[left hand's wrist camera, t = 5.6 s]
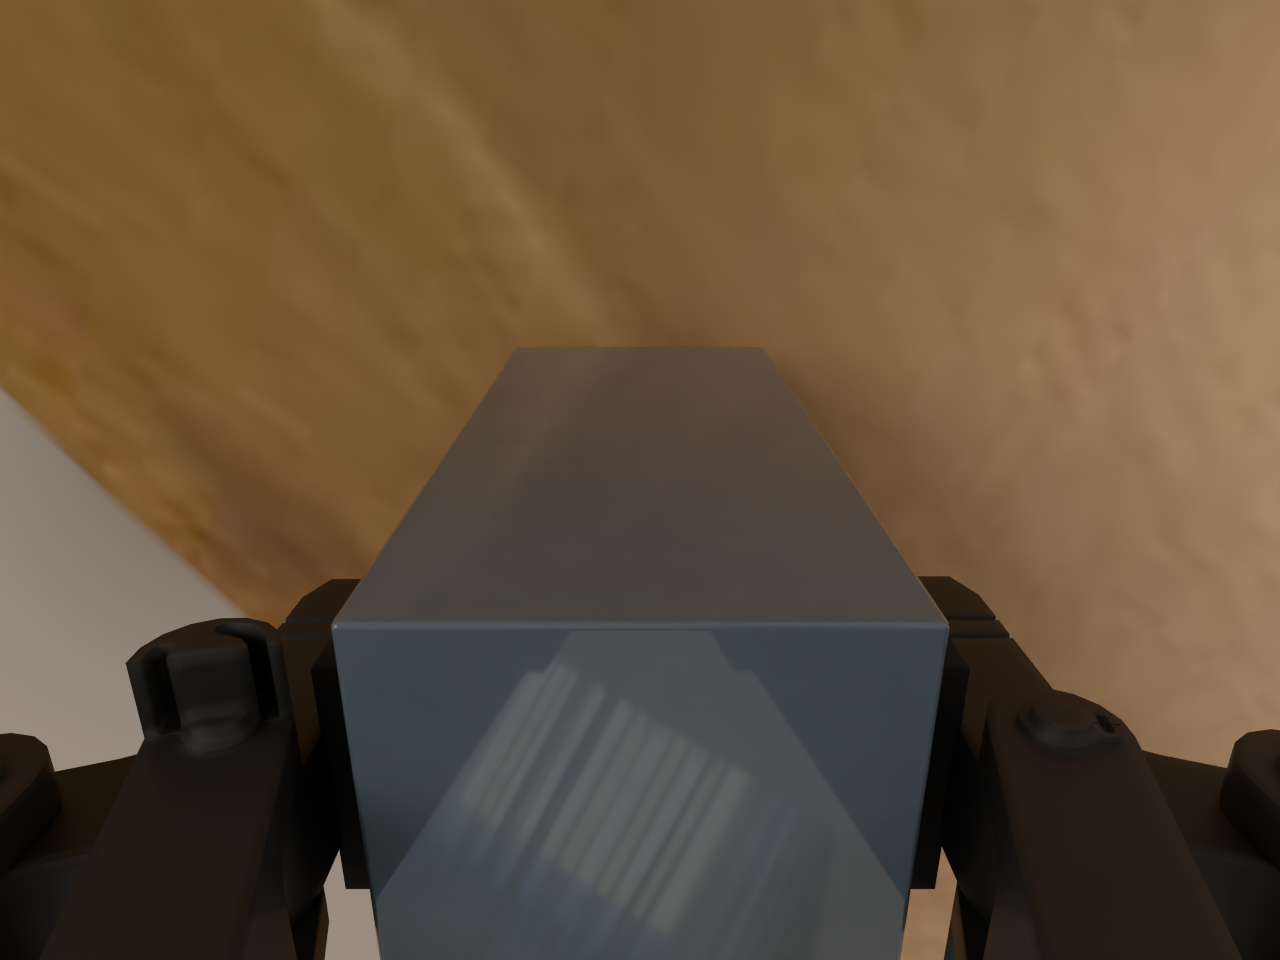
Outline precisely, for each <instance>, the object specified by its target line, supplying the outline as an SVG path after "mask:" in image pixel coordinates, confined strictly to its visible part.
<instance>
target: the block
mask: <svg viewBox="0 0 1280 960" xmlns="http://www.w3.org/2000/svg"><path fill="white" fill-rule="evenodd" d="M331 630H332V636H333V643H334V650H335V657H336V663H337V670H338V677H339V684H340V690H341V697H342V704H343V711H344V718H345V724H346V731H347V738H348V745H349V751H350V758H351V765H352V772H353V778H354V785H355V792H356V799H357V806H358V812H359V819H360V826H361V833H362V839H363V846H364V853H365V860H366V866H367V873H368V880H369V887H370V894H371V900H372V907H373V914H374V921H375V927H376V934H377V941H378V948H379V954H380V960H900V958H901V951H902V944H903V937H904V931H905V924H906V917H907V910H908V904H909V897H910V890H911V883H912V876H913V870H914V863H915V856H916V849H917V843H918V836H919V829H920V822H921V816H922V809H923V802H924V795H925V789H926V782H927V775H928V768H929V762H930V755H931V748H932V741H933V735H934V728H935V721H936V714H937V708H938V701H939V694H940V687H941V681H942V674H943V667H944V660H945V653H946V647H947V640H948V633H949V624H948V621H947V620H946V618H945V617H944V615H943V614H942V612H941V611H940V609H939V608H938V606H937V605H936V603H935V602H934V600H933V599H932V597H931V596H930V594H929V593H928V591H927V590H926V588H925V587H924V585H923V584H922V582H921V581H920V579H919V578H918V576H917V575H916V574H915V572H914V571H913V569H912V568H911V566H910V565H909V563H908V562H907V560H906V559H905V557H904V556H903V554H902V553H901V551H900V550H899V548H898V547H897V545H896V544H895V542H894V541H893V539H892V538H891V536H890V535H889V533H888V532H887V530H886V529H885V527H884V526H883V525H882V523H881V522H880V520H879V519H878V517H877V516H876V514H875V513H874V511H873V510H872V508H871V507H870V505H869V504H868V502H867V501H866V499H865V498H864V496H863V495H862V493H861V492H860V490H859V489H858V487H857V486H856V484H855V483H854V481H853V480H852V479H851V477H850V476H849V474H848V473H847V471H846V470H845V468H844V467H843V465H842V464H841V462H840V461H839V459H838V458H837V456H836V455H835V453H834V452H833V450H832V449H831V447H830V446H829V444H828V443H827V441H826V440H825V438H824V437H823V435H822V434H821V432H820V431H819V430H818V428H817V427H816V425H815V424H814V422H813V421H812V419H811V418H810V416H809V415H808V413H807V412H806V410H805V409H804V407H803V406H802V404H801V403H800V401H799V400H798V398H797V397H796V395H795V394H794V392H793V391H792V389H791V388H790V386H789V385H788V383H787V382H786V381H785V379H784V378H783V376H782V375H781V373H780V372H779V370H778V369H777V367H776V366H775V364H774V363H773V361H772V360H771V358H770V357H769V355H768V354H767V352H766V351H765V349H764V348H516V350H515V351H514V353H513V354H512V356H511V357H510V359H509V360H508V362H507V363H506V365H505V366H504V367H503V369H502V370H501V372H500V373H499V375H498V376H497V378H496V379H495V381H494V382H493V384H492V385H491V387H490V388H489V390H488V391H487V393H486V394H485V396H484V397H483V399H482V400H481V402H480V403H479V405H478V406H477V408H476V409H475V411H474V412H473V414H472V415H471V417H470V418H469V420H468V421H467V423H466V424H465V425H464V427H463V428H462V430H461V431H460V433H459V434H458V436H457V437H456V439H455V440H454V442H453V443H452V445H451V446H450V448H449V449H448V451H447V452H446V454H445V455H444V457H443V458H442V460H441V461H440V463H439V464H438V466H437V467H436V469H435V470H434V472H433V473H432V475H431V476H430V478H429V479H428V481H427V482H426V483H425V485H424V486H423V488H422V489H421V491H420V492H419V494H418V495H417V497H416V498H415V500H414V501H413V503H412V504H411V506H410V507H409V509H408V510H407V512H406V513H405V515H404V516H403V518H402V519H401V521H400V522H399V524H398V525H397V527H396V528H395V530H394V531H393V533H392V534H391V536H390V537H389V539H388V540H387V542H386V543H385V544H384V546H383V547H382V549H381V550H380V552H379V553H378V555H377V556H376V558H375V559H374V561H373V562H372V564H371V565H370V567H369V568H368V570H367V571H366V573H365V574H364V576H363V577H362V579H361V580H360V582H359V583H358V585H357V586H356V588H355V589H354V591H353V592H352V594H351V595H350V597H349V598H348V600H347V601H346V602H345V604H344V605H343V607H342V608H341V610H340V611H339V613H338V614H337V616H336V617H335V619H334V620H333V622H332V625H331Z"/></svg>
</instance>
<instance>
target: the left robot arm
mask: <svg viewBox="0 0 1280 960" xmlns="http://www.w3.org/2000/svg"><path fill="white" fill-rule="evenodd" d="M918 578H919V579H920V581H921V582H922V584H923V585H924V587H925V588H926V590H927V591H928V593H929V594H930V596H931V597H932V599H933V600H934V602H935V603H936V605H937V606H938V608H939V609H940V611H941V612H942V614H943V615H944V617H945V618H946V620H947V621H948V624H949V633H948V640H947V647H946V653H945V660H944V667H943V674H942V681H941V687H940V694H939V701H938V708H937V714H936V721H935V728H934V735H933V741H932V748H931V755H930V762H929V768H928V775H927V782H926V789H925V795H924V802H923V809H922V816H921V822H920V829H919V836H918V843H917V849H916V856H915V863H914V870H913V876H912V883H911V889H935V884H936V878H937V872H938V866H939V859H940V853H941V847H942V848H943V850H944V852H945V855H946V857H947V859H948V861H949V864H950V866H951V868H952V870H953V873H954V875H955V877H956V879H957V886H956V892H955V898H954V904H953V909H952V915H951V921H950V927H949V932H948V938H947V944H946V950H945V956H944V960H1280V730H1272V729H1269V730H1263V731H1256V732H1249V733H1246V734H1245V735H1244V736H1243V737H1241V738H1240V739H1239V740H1237V741H1236V742H1235V744H1234V747H1233V750H1232V754H1231V757H1230V760H1229V764H1228V767H1227V768H1223V767H1218V766H1213V765H1208V764H1203V763H1198V762H1193V761H1188V760H1183V759H1178V758H1173V757H1168V756H1162V755H1159V754H1155V753H1151V752H1147V751H1143V750H1141V748H1140V746H1139V743H1138V741H1137V739H1136V737H1135V736H1134V735H1133V734H1132V732H1131V731H1130V730H1129V729H1128V727H1127V726H1126V725H1125V723H1124V722H1123V721H1122V720H1121V719H1119V718H1118V717H1116V716H1115V715H1113V714H1112V713H1110V712H1109V711H1108V710H1106V709H1105V708H1103V707H1102V706H1100V705H1098V704H1096V703H1093V702H1091V701H1089V700H1086V699H1084V698H1081V697H1079V696H1077V695H1074V694H1071V693H1066V692H1062V691H1057V690H1053V689H1052V688H1051V686H1050V685H1049V684H1048V682H1047V681H1046V680H1045V679H1044V677H1043V676H1042V675H1041V674H1040V672H1039V671H1038V670H1037V668H1036V667H1035V666H1034V665H1033V663H1032V662H1031V661H1030V660H1029V658H1028V657H1027V656H1026V654H1025V653H1024V652H1023V651H1022V649H1021V648H1020V647H1019V646H1018V644H1017V643H1016V642H1015V640H1014V639H1013V638H1009V633H1008V632H1007V630H1006V629H1005V628H1004V626H1003V625H1002V624H1001V623H1000V621H999V620H995V615H994V614H993V612H992V611H991V610H990V609H989V607H988V606H987V605H986V604H985V602H984V601H983V600H982V598H981V597H980V596H979V595H978V594H977V593H975V592H973V591H972V590H970V589H968V588H967V587H965V586H964V585H962V584H960V583H959V582H957V581H956V580H954V579H952V578H951V577H918ZM360 580H361V579H331V580H330V581H328V582H327V583H325V584H323V585H322V586H320V587H319V588H317V589H315V590H314V591H312V592H311V593H309V594H307V595H306V596H304V597H303V598H302V599H301V600H300V601H299V603H298V604H297V605H296V606H295V608H294V609H293V610H292V612H291V613H290V614H289V615H288V617H287V618H286V623H282V624H281V626H280V627H279V628H278V630H277V629H275V628H274V627H273V626H271V625H270V624H269V623H267V622H263V621H259V620H254V619H250V618H221V619H215V620H210V621H205V622H200V623H194V624H190V625H187V626H185V627H182V628H179V629H176V630H174V631H171V632H168V633H165V634H163V635H161V636H160V637H158V638H156V639H154V640H153V641H151V642H149V643H148V644H146V645H144V646H143V647H141V648H140V649H139V650H138V651H137V652H136V653H135V654H134V655H133V656H132V657H131V658H130V659H129V660H128V661H127V662H126V666H127V670H128V674H129V678H130V682H131V686H132V690H133V694H134V698H135V702H136V706H137V710H138V714H139V718H140V722H141V726H142V730H143V734H144V738H145V739H144V741H143V743H142V745H141V747H140V749H139V751H138V753H137V755H133V756H129V757H125V758H121V759H117V760H112V761H107V762H102V763H97V764H92V765H87V766H82V767H77V768H72V769H66V770H61V771H56V772H55V771H54V768H53V765H52V761H51V758H50V755H49V751H48V748H47V746H46V745H45V744H43V743H42V742H41V741H40V740H38V739H37V738H36V737H34V736H28V735H21V734H14V733H8V734H0V960H324V959H325V950H326V942H327V934H328V925H329V918H328V911H327V904H326V898H325V892H324V886H323V885H324V883H325V881H326V878H327V876H328V874H329V871H330V869H331V867H332V865H333V862H334V860H335V858H336V856H337V853H338V851H339V850H340V856H341V862H342V868H343V874H344V881H345V887H346V889H370V887H369V880H368V873H367V866H366V860H365V853H364V846H363V839H362V833H361V826H360V819H359V812H358V806H357V799H356V792H355V785H354V778H353V772H352V765H351V758H350V751H349V745H348V738H347V731H346V724H345V718H344V711H343V704H342V697H341V690H340V684H339V677H338V670H337V663H336V657H335V650H334V643H333V636H332V630H331V625H332V622H333V620H334V619H335V617H336V616H337V614H338V613H339V611H340V610H341V608H342V607H343V605H344V604H345V602H346V601H347V600H348V598H349V597H350V595H351V594H352V592H353V591H354V589H355V588H356V586H357V585H358V583H359V582H360Z"/></svg>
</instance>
